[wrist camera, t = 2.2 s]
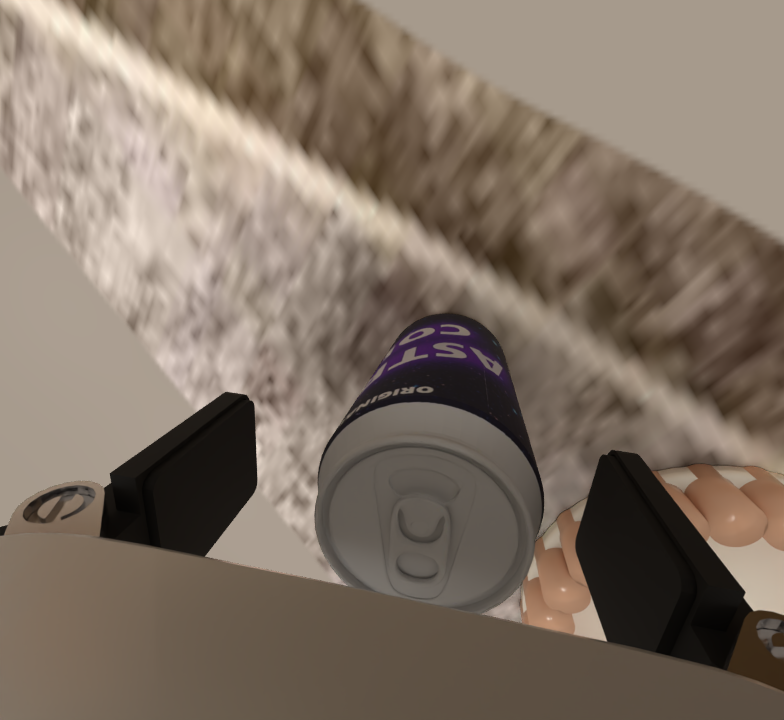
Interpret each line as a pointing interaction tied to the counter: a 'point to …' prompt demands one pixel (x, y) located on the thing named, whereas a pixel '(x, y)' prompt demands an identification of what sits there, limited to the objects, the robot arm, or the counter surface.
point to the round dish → (709, 516)
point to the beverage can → (433, 474)
